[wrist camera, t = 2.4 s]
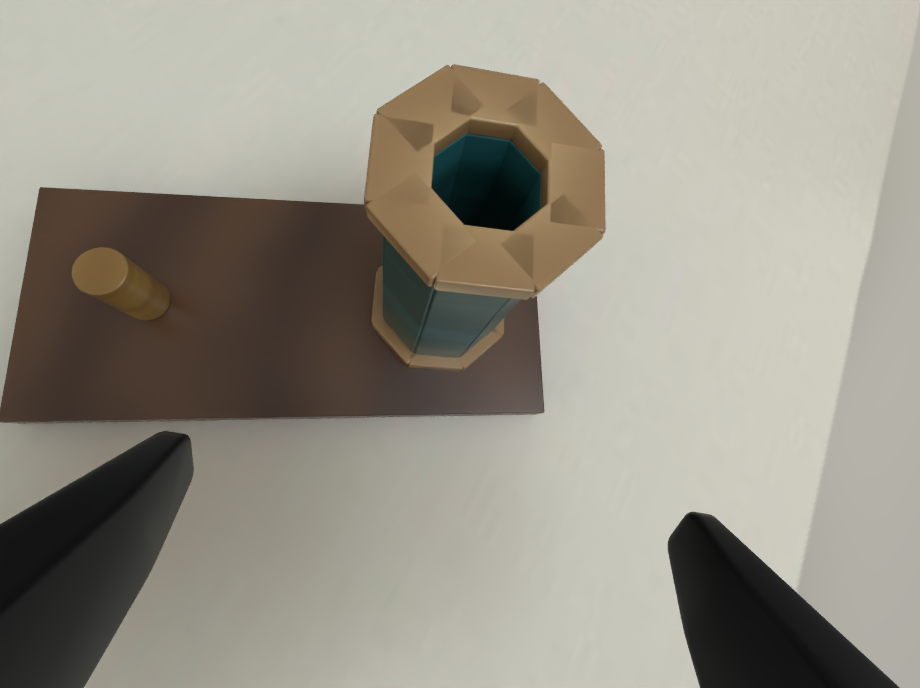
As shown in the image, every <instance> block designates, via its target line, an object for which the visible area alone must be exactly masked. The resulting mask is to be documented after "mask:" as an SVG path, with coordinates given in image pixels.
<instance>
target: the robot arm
mask: <svg viewBox="0 0 920 688" xmlns="http://www.w3.org/2000/svg"><path fill="white" fill-rule="evenodd" d="M193 471H194V466H193V457H192V448H191V441H190V438H189V436H188V435H186V434H181V433H175V432H168V431H163V432H159V433H157V434H155V435H153V436H152V437H150V438H148V439H146V440H145V441H143V442H141V443H139V444H138V445H136V446H134V447H133V448H131V449H129V450H127V451H126V452H124V453H122V454H120V455H119V456H117V457H115V458H114V459H112V460H110V461H108V462H107V463H105V464H103V465H102V466H100V467H98V468H96V469H95V470H93V471H91V472H89V473H88V474H86V475H84V476H83V477H81V478H79V479H77V480H76V481H74V482H72V483H70V484H69V485H67V486H65V487H64V488H62V489H60V490H58V491H57V492H55V493H53V494H51V495H50V496H48V497H46V498H45V499H43V500H41V501H39V502H38V503H36V504H34V505H32V506H31V507H29V508H27V509H26V510H24V511H22V512H20V513H19V514H17V515H15V516H13V517H12V518H10V519H8V520H7V521H5V522H3V523H1V524H0V688H84V687H85V685H86V683H87V681H88V680H89V678H90V676H91V674H92V673H93V671H94V669H95V668H96V666H97V664H98V662H99V661H100V659H101V657H102V655H103V654H104V652H105V650H106V649H107V647H108V645H109V643H110V642H111V640H112V638H113V636H114V635H115V633H116V631H117V630H118V628H119V626H120V624H121V623H122V621H123V619H124V617H125V616H126V614H127V612H128V611H129V609H130V607H131V605H132V604H133V602H134V600H135V598H136V597H137V595H138V593H139V591H140V590H141V588H142V586H143V584H144V583H145V581H146V579H147V577H148V575H149V573H150V572H151V570H152V568H153V565H154V563H155V561H156V559H157V557H158V555H159V553H160V550H161V548H162V546H163V544H164V541H165V539H166V537H167V535H168V532H169V530H170V528H171V526H172V523H173V521H174V519H175V517H176V514H177V512H178V510H179V508H180V505H181V503H182V501H183V499H184V496H185V494H186V492H187V490H188V487H189V485H190V483H191V480H192V477H193ZM668 553H669V558H670V564H671V569H672V574H673V579H674V584H675V589H676V594H677V599H678V604H679V609H680V615H681V620H682V624H683V629H684V633H685V637H686V641H687V644H688V648H689V651H690V655H691V658H692V662H693V665H694V668H695V672H696V675H697V679H698V682H699V685H700V688H899V687H898V686H897V685H896V684H895V683H894V682H893V681H892V680H891V679H890V678H889V677H888V676H886V675H885V674H884V673H883V672H882V671H881V670H880V669H879V668H878V667H877V666H876V665H874V664H873V663H872V662H871V661H870V660H869V659H868V658H867V657H866V656H865V655H864V654H863V653H861V652H860V651H859V650H858V649H857V648H856V647H855V646H854V645H853V644H852V643H851V642H849V641H848V640H847V639H846V638H845V637H844V636H843V635H842V634H841V633H840V632H839V631H838V630H836V628H834V627H833V626H832V625H831V624H830V623H829V622H828V621H827V620H826V619H825V618H823V617H822V616H821V615H820V614H819V613H818V612H817V611H816V610H815V609H814V608H813V607H812V606H811V605H810V604H808V603H807V602H806V601H805V600H804V599H803V598H802V597H801V596H800V595H799V594H797V592H795V591H794V590H793V589H792V588H791V587H790V586H789V585H788V584H787V583H786V582H785V581H784V580H782V579H781V578H780V577H779V576H778V575H777V574H776V573H775V572H774V571H773V570H772V569H771V568H769V567H768V566H767V565H766V564H765V563H764V562H763V561H762V560H761V559H760V558H759V557H757V556H756V555H755V554H754V553H753V552H752V551H751V550H750V549H749V548H748V547H747V546H746V545H744V544H743V543H742V542H741V541H740V540H739V539H738V538H737V537H736V536H735V535H734V534H733V533H731V532H730V531H729V530H728V529H727V528H726V527H725V526H724V525H723V524H722V523H721V522H720V521H718V520H717V519H716V518H715V517H714V516H712V515H709V514H704V513H698V512H690V513H688V514H686V515H685V517H684V518H683V519H682V521H681V522H680V523H679V525H678V526H677V528H676V529H675V530H674V532H673V533H672V534H671V536H670V538H669V541H668Z"/></svg>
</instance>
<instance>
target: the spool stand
mask: <svg viewBox="0 0 920 688" xmlns="http://www.w3.org/2000/svg"><path fill="white" fill-rule="evenodd" d="M382 265H383V234H382V233H381V232H380V231H379V230H378V229H377V228H376V226H375V225H374V224H373V223H372V222H371V221H370V220H369V218H368V217H367V212H366V211H365V205H361V204H342V203H323V202H305V201H286V200H267V199H249V198H230V197H211V196H193V195H174V194H155V193H137V192H118V191H99V190H81V189H62V188H43V187H41V188H40V189H39V194H38V200H37V206H36V211H35V217H34V222H33V228H32V234H31V239H30V245H29V250H28V256H27V262H26V267H25V273H24V279H23V284H22V290H21V295H20V301H19V307H18V312H17V318H16V323H15V329H14V335H13V340H12V346H11V352H10V357H9V363H8V368H7V374H6V380H5V385H4V391H3V396H2V402H1V408H0V422H3V423H19V424H28V423H83V422H138V421H194V420H249V419H304V418H359V417H415V416H470V415H525V414H539V413H543V412H544V401H543V386H542V370H541V355H540V339H539V324H538V309H537V296H535V297H534V298H531V297H530V298H529V299H527V300H522V299H521V300H520V301H519V303H518V304H517V305H516V306H515V307H514V308H513V309H512V310H511V311H510V312H509V313H508V314H507V315H506V316H505V317H504V334H503V335H502V337H501V338H500V339H499V340H498V341H497V342H495V343H494V344H493V345H492V346H491V347H490V348H489V349H487V350H486V351H485V352H484V353H483V354H482V355H481V356H479V357H478V358H477V359H476V360H475V361H474V362H472V363H471V364H470V365H469V366H468V367H467V368H466V369H464V370H463V371H462V370H461V371H448V370H436V369H423V368H411V367H408V365H407V366H406V365H405V364H404V363H403V362H402V361H401V359H400V358H399V357H398V356H397V355H396V354H395V352H394V351H393V350H392V349H391V348H390V347H389V346H388V344H387V343H386V342H385V341H384V340H383V339H382V337H381V336H380V335H379V334H378V333H377V332H376V330H375V329H374V328H373V326H372V323H371V317H372V307H373V297H374V288H375V278H376V272H377V271H378V268H380V267H381V266H382Z"/></svg>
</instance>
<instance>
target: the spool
mask: <svg viewBox="0 0 920 688" xmlns="http://www.w3.org/2000/svg"><path fill="white" fill-rule="evenodd" d="M601 147H602V145H601V143H600V142H599V141H598V140H597V139H596V138H595V137H594V136H593V135H592V134H591V133H590V132H589V131H588V129H587V128H586V127H585V126H584V125H583V124H582V123H581V122H580V121H579V120H578V119H577V118H576V116H575V115H574V114H573V113H572V112H571V111H570V110H569V109H568V108H567V107H566V106H565V105H564V104H563V102H562V101H561V100H560V99H559V98H558V97H557V96H556V95H555V94H554V93H553V92H552V91H551V90H550V88H549V87H548V86H547V85H546V84H545V83H541V84H539V80H538V79H534V78H528V77H522V76H517V75H511V74H506V73H500V72H494V71H489V70H483V69H477V68H472V67H466V66H460V65H455V64H454V65H452V66H451V67H450V66H449V65H446V66H445V67H443V68H442V69H440V70H438V71H437V72H435V73H434V74H432V75H431V76H429V77H427V78H426V79H424V80H423V81H421V82H419V83H418V84H416V85H415V86H413V87H412V88H410V89H408V90H407V91H405V92H404V93H402V94H400V95H399V96H397V97H396V98H394V99H393V100H391V101H389V102H388V103H386V104H385V105H383V106H381V107H380V108H378V109H377V114H375V115H374V117H373V124H372V133H371V142H370V151H369V160H368V168H367V177H366V186H365V195H364V205H365V211H366V212H367V217H368V218H369V220H370V221H371V222H372V223H373V224H374V225H375V226H376V228H377V229H378V230H379V231H380V232H381V233H382V234H383V265H382V266H381V267H380V268H378V271H377V272H376V278H375V288H374V297H373V307H372V317H371V323H372V326H373V328H374V329H375V330H376V332H377V333H378V334H379V335H380V336H381V337H382V339H383V340H384V341H385V342H386V343H387V344H388V346H389V347H390V348H391V349H392V350H393V351H394V352H395V354H396V355H397V356H398V357H399V358H400V359H401V361H402V362H403V363H404V364H405V365H406V366H407V365H408V367H411V368H423V369H436V370H448V371H461V370H462V371H463V370H464V369H466V368H467V367H468V366H469V365H470V364H471V363H472V362H474V361H475V360H476V359H477V358H478V357H479V356H481V355H482V354H483V353H484V352H485V351H486V350H487V349H489V348H490V347H491V346H492V345H493V344H494V343H495V342H497V341H498V340H499V339H500V338H501V337H502V335H503V334H504V317H505V316H506V315H507V314H508V313H509V312H510V311H511V310H512V309H513V308H514V307H515V306H516V305H517V304H518V303H519V301H520V300H521V299H522V300H527V299H529V298H530V297H531V298H534V297H535V296H537V295H538V294H539V293H540V292H541V291H542V290H544V289H545V288H546V287H547V286H548V285H549V284H550V283H552V282H553V281H554V280H555V279H556V278H557V277H559V276H560V275H561V274H562V273H563V272H564V271H566V270H567V269H568V268H569V267H570V266H571V265H573V264H574V263H575V262H576V261H577V260H578V259H580V258H581V257H582V256H583V255H584V254H585V253H587V252H588V251H589V250H590V249H591V248H592V247H594V246H595V245H596V244H597V243H598V242H599V241H600V240H601V239H602V237H603V234H604V233H605V160H604V150H602V149H601Z"/></svg>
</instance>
